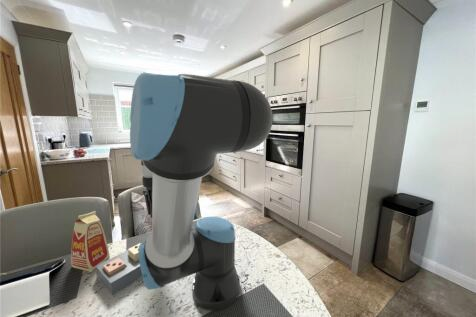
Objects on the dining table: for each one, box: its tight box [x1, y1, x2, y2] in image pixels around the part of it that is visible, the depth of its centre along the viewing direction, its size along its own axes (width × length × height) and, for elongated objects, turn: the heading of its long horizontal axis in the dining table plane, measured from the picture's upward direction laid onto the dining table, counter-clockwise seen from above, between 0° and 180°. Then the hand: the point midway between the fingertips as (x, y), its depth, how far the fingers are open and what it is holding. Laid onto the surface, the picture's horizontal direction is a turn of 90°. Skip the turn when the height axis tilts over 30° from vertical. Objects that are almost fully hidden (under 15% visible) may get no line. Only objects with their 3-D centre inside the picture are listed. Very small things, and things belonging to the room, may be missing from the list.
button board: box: [95, 249, 143, 297], centre depth 72 cm, size 12×23×4 cm, turn 144°
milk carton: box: [70, 210, 111, 273], centre depth 73 cm, size 9×9×20 cm
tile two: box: [127, 242, 142, 262], centre depth 71 cm, size 5×5×3 cm
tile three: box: [103, 258, 126, 277], centre depth 65 cm, size 5×5×3 cm
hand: (157, 233), depth 76 cm, fingers closed
